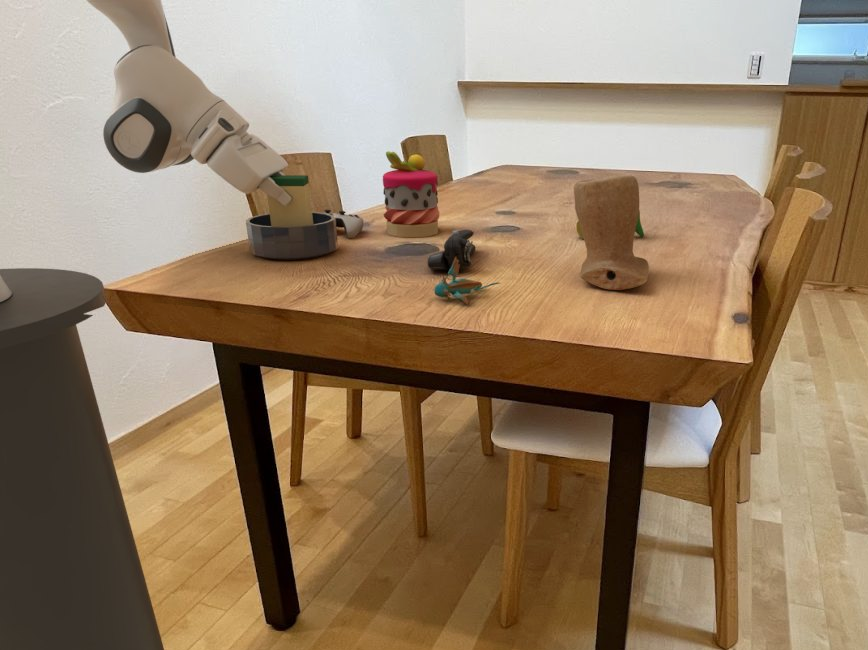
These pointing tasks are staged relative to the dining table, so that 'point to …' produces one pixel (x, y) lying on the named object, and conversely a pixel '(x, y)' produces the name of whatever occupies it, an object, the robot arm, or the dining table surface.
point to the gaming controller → (348, 223)
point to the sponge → (299, 206)
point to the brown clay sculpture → (610, 232)
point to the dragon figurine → (457, 285)
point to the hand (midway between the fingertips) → (293, 199)
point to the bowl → (292, 238)
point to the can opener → (454, 251)
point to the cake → (410, 198)
